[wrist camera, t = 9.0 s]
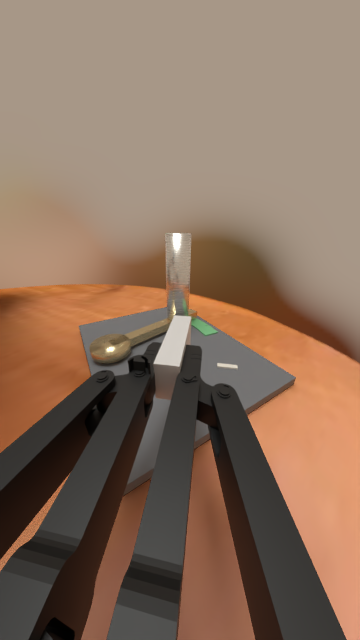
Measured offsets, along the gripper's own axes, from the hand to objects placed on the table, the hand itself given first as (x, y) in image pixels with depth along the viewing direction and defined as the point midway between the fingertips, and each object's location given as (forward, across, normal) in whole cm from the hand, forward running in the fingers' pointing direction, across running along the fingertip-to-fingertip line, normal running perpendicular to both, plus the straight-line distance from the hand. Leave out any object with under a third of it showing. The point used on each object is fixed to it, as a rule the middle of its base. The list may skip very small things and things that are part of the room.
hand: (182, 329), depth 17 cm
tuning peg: (+10, -6, -7) cm, 13 cm away
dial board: (+7, -3, -8) cm, 11 cm away
